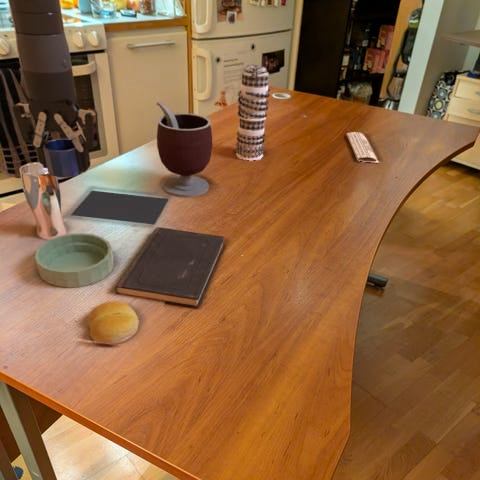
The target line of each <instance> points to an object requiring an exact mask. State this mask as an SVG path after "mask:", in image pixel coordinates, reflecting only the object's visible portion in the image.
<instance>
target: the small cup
mask: <svg viewBox="0 0 480 480" xmlns="http://www.w3.org/2000/svg"><path fill="white" fill-rule="evenodd" d="M42 146H43V151H44V155H45V160H46V164H47V169H48V173H49V174H50V175H52V176H55V177H57V178H73V177H77V176H79V175H82V174H83V173H84V172H80V169H79V163H78V157H77V151H78V150H77V149H76V147H75V146H74V144H73V142H72V141H70V140H69V139H68V138H55V139H50V140H47V141H46V142H45V143H44V144H43V145H42Z"/></svg>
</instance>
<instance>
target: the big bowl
mask: <svg viewBox="0 0 480 480" xmlns="http://www.w3.org/2000/svg"><path fill="white" fill-rule="evenodd" d="M112 247H113V246H112V244H110V242H109V241H108V240H107V239H105V238H104V237H102V236H99V235H96V234H93V233H87V232H86V233H85V232H79V233H77V232H76V233H66V234H65V235H62V236H58V237H55V238H53V239H50V240H49V239H47V241H45V242H43V243H42V244H40V246H39V247H37V249H36V251H35V254H34V260H35V263H36V267H37V271H38V274H39V276H40V278H41V279H42V281H44V282H45V283H47V284H49V285H52V286H55V287H60V288H68V289H69V288H81V287H84V286H89V285H93V284H96V283H97V282H100V281H102V280H104V278H106V277H107V276H108V275H110V274H111V272H112V271H113V269H114V255H113V248H112Z"/></svg>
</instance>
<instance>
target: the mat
mask: <svg viewBox="0 0 480 480" xmlns="http://www.w3.org/2000/svg"><path fill="white" fill-rule="evenodd" d="M168 201H169V198H164V197H157V196H156V197H155V196H149V195H148V196H146V195H137V194H128V193H120V192H109V191H100V190H91V191H90V192H89V194H88V195H86V197H85V198H84V199H83V200H82V201H81V202H80V203H79V204H78V205H77V207H75V209H74V210H73V211H72V213H71V214H70V216H74V217H83V218H91V219H101V220H108V221H109V220H110V221H117V222H125V223H126V222H127V223H135V224H144V225H155V224H156V223H157V221H158V219H159V217H160V215H161V213H162V212H163V210H164V208H165V206H166V205H167V203H168Z"/></svg>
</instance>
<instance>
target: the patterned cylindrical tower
mask: <svg viewBox="0 0 480 480" xmlns="http://www.w3.org/2000/svg"><path fill="white" fill-rule="evenodd" d="M240 73H241V83H240V90H239V91H238V94H237V96H238V98H237V102H238V106H237V117H238V118H239V121H238V123H239V125H238V129H237V130H238V131H237V132H236V135H237V137H236V141H237V142H236V144H235V146H236V148H235V151H236V153H235V156H236V155H237V156H236V158H238V159H240V160H242V159H243V161H247V160H249V161H248V162H254V161H253V160H256V161H260V160H262V159H263V158H262V157H264V151H265V150H264V149H265V145H264V143H265V140H266V139H265V136H266V133H265V130H266V129H265V128H266V127H265V121H266V119H267V116H268V114H267V113H266V111H268V110H269V107H268V106H267V105H269V103H270V102H269V100H267V99H268V98H269V97H270V96H271V95H270V93H269V92H270V91H271V89H270V88H269V76H270V72H269V71H268V70H267V68H266V67H265V66H264V65H260V64H248V65H246V66H245V67H244V68H243V70H241V71H240ZM261 158H262V159H261Z"/></svg>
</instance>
